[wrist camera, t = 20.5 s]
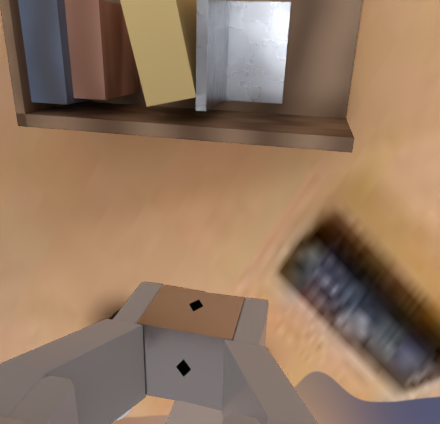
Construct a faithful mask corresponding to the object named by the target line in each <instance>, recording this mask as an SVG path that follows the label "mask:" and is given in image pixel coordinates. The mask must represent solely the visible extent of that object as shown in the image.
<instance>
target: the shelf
mask: <svg viewBox="0 0 440 424" xmlns="http://www.w3.org/2000/svg"><path fill="white" fill-rule="evenodd" d="M229 1H256V2H291V12H290V23H289V35H288V46H287V58H286V69H285V81H284V92H283V103H282V104H278V103H261V102H245V101H228V100H226V101H224V102H222V103H221V104H219V105H217V106H215V107H213V108H211V109H209V110H208V111H196V97H194V98H189V99H184V100H179V101H174V102H169V103H164V104H159V105H154V106H149V107H147V106H146V102H145V98H144V94H143V90H142V86H141V82H140V78H139V74H138V70H137V66H136V62H135V58H134V54H133V50H132V46H131V42H130V38H129V34H128V30H127V26H126V22H125V18H124V14H123V10H122V6H121V2H120V0H0V9H1V15H2V22H3V29H4V35H5V42H6V49H7V55H8V62H9V69H10V75H11V82H12V89H13V95H14V102H15V109H16V115H17V122H18V126H26V127H39V128H51V129H64V130H76V131H89V132H101V133H114V134H126V135H139V136H151V137H164V138H176V139H189V140H201V141H214V142H227V143H239V144H252V145H264V146H277V147H289V148H302V149H314V150H327V151H339V152H352V149H353V143H354V136H353V134H352V132H351V129H350V127H349V125H348V122H347V120H346V113H347V106H348V100H349V93H350V86H351V79H352V72H353V65H354V58H355V51H356V45H357V38H358V31H359V24H360V17H361V10H362V3H363V0H229Z"/></svg>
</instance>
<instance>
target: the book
mask: <svg viewBox="0 0 440 424" xmlns="http://www.w3.org/2000/svg"><path fill="white" fill-rule="evenodd" d="M120 2H121V6H122V10H123V14H124V18H125V22H126V26H127V30H128V34H129V38H130V42H131V46H132V50H133V54H134V58H135V62H136V66H137V70H138V74H139V78H140V82H141V86H142V90H143V94H144V98H145V102H146V106H147V107H149V106H154V105H159V104H164V103H169V102H174V101H179V100H184V99H189V98H194V97H196V31H197V0H120Z"/></svg>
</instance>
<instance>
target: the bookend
mask: <svg viewBox="0 0 440 424" xmlns="http://www.w3.org/2000/svg"><path fill="white" fill-rule="evenodd" d="M290 12H291V2H256V1H229V0H197V31H196V111H208V110H209V109H211V108H213V107H215V106H217V105H219V104H221V103H222V102H224V101H226V100H228V101H245V102H261V103H278V104H282V103H283V92H284V81H285V69H286V58H287V46H288V35H289V23H290Z"/></svg>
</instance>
